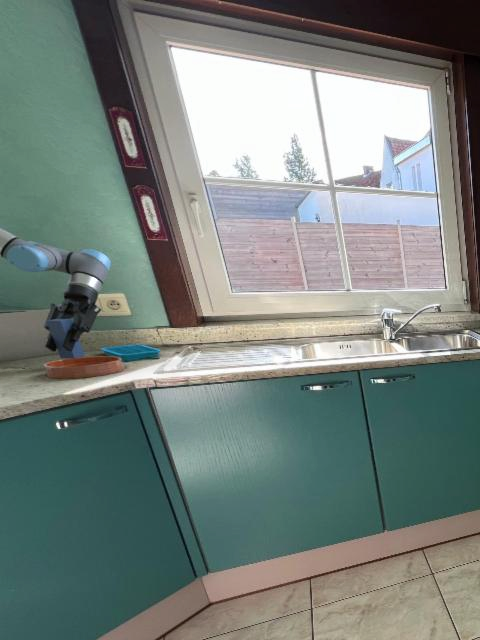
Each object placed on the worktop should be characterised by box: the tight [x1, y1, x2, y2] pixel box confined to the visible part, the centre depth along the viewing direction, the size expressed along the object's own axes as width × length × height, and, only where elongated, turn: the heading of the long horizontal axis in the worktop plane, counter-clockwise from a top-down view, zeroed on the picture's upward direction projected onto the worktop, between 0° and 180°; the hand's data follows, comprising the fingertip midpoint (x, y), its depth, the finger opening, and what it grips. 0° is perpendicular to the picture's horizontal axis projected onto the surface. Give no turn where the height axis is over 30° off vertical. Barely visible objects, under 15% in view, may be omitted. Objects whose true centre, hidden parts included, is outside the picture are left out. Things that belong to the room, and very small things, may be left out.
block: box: [45, 318, 86, 359], centre depth 159 cm, size 4×4×12 cm
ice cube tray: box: [99, 344, 162, 362], centre depth 177 cm, size 12×20×3 cm, turn 59°
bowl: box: [42, 355, 126, 380], centre depth 153 cm, size 17×17×4 cm
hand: (58, 348), depth 156 cm, fingers closed on block, 4 cm apart
